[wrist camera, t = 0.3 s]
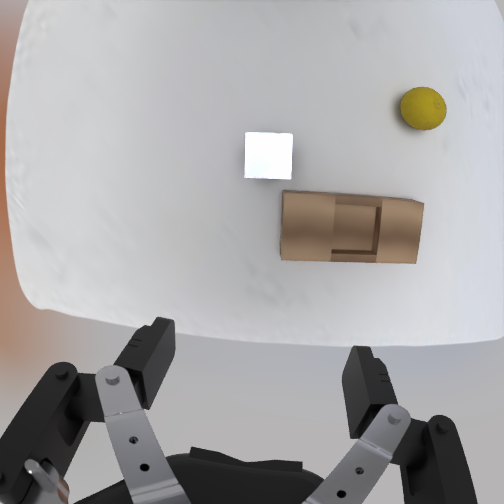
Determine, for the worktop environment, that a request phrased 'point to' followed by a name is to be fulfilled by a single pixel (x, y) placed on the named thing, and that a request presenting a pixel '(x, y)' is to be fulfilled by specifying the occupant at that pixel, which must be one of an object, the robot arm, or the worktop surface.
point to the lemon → (423, 108)
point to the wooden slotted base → (349, 228)
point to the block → (268, 155)
